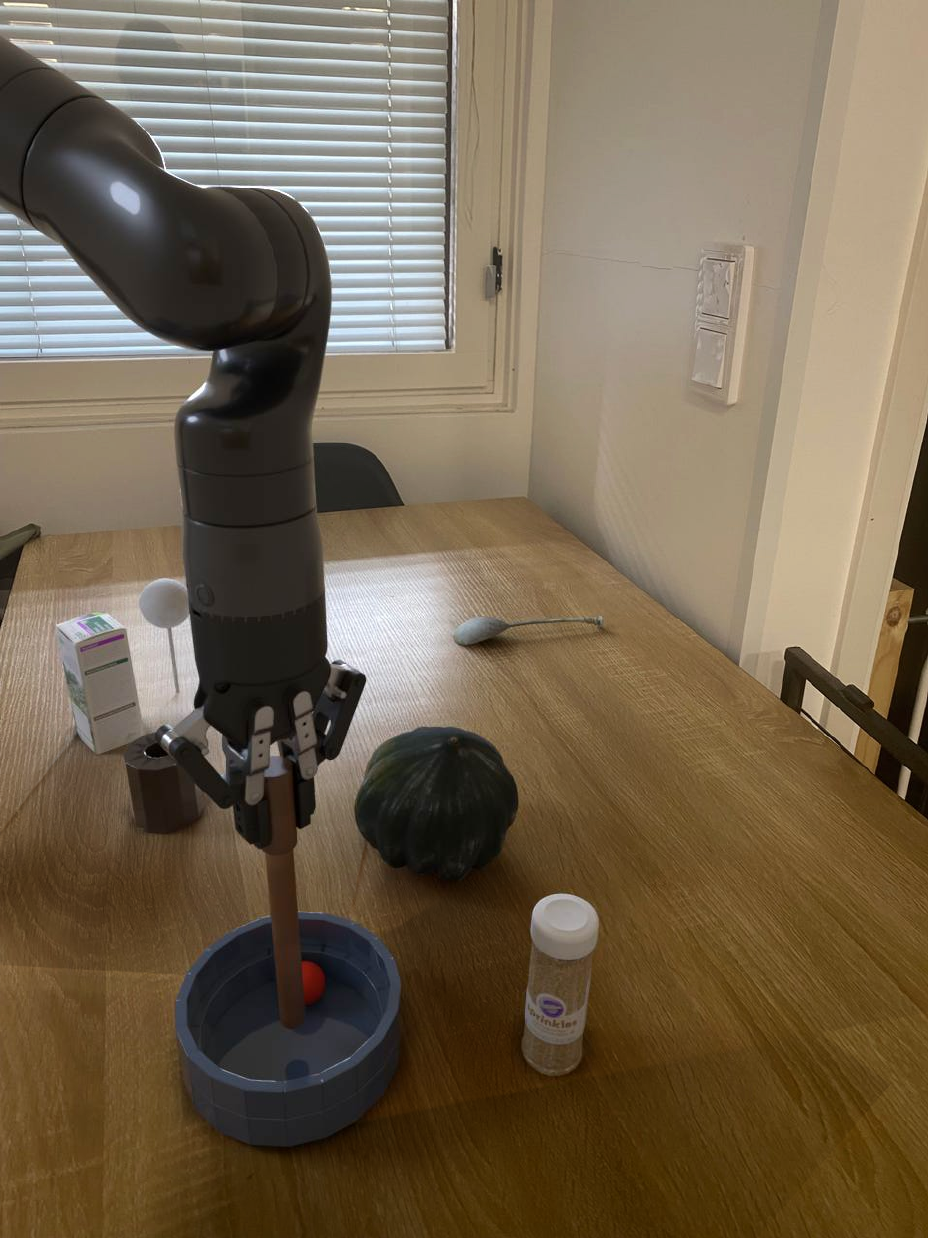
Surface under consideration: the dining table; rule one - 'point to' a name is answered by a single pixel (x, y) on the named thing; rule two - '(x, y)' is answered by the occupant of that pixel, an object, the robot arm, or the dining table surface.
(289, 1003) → the stirring stick
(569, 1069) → the sprinkles bottle
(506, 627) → the soupspoon
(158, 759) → the crock
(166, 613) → the lollipop
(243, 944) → the bowl
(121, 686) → the syrup box
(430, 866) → the squash
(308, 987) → the cherry tomato
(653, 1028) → the dining table surface
